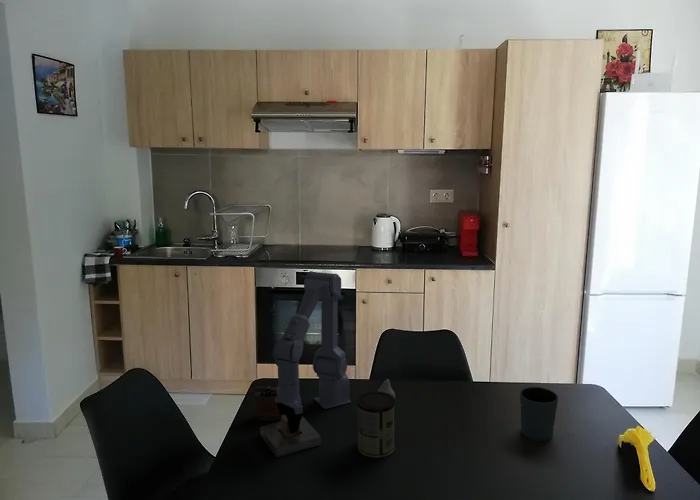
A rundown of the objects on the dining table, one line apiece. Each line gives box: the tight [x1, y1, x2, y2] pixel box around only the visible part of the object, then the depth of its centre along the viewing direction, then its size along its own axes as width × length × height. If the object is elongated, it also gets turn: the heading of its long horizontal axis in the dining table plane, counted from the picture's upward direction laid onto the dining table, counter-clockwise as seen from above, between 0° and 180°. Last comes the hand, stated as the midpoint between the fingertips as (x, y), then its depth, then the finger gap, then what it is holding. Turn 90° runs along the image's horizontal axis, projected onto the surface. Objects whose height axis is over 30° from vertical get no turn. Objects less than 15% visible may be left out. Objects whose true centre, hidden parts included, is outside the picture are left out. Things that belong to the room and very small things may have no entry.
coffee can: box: [356, 390, 396, 459], centre depth 142 cm, size 10×10×14 cm
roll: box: [377, 378, 396, 399], centre depth 160 cm, size 6×12×6 cm
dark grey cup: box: [519, 386, 559, 442], centre depth 149 cm, size 10×10×12 cm
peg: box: [280, 414, 300, 439], centre depth 147 cm, size 4×4×7 cm
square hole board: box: [259, 415, 322, 458], centre depth 147 cm, size 13×13×2 cm
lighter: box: [254, 385, 281, 421], centre depth 159 cm, size 8×3×10 cm, turn 84°
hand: (289, 427), depth 147 cm, fingers open, 5 cm apart
